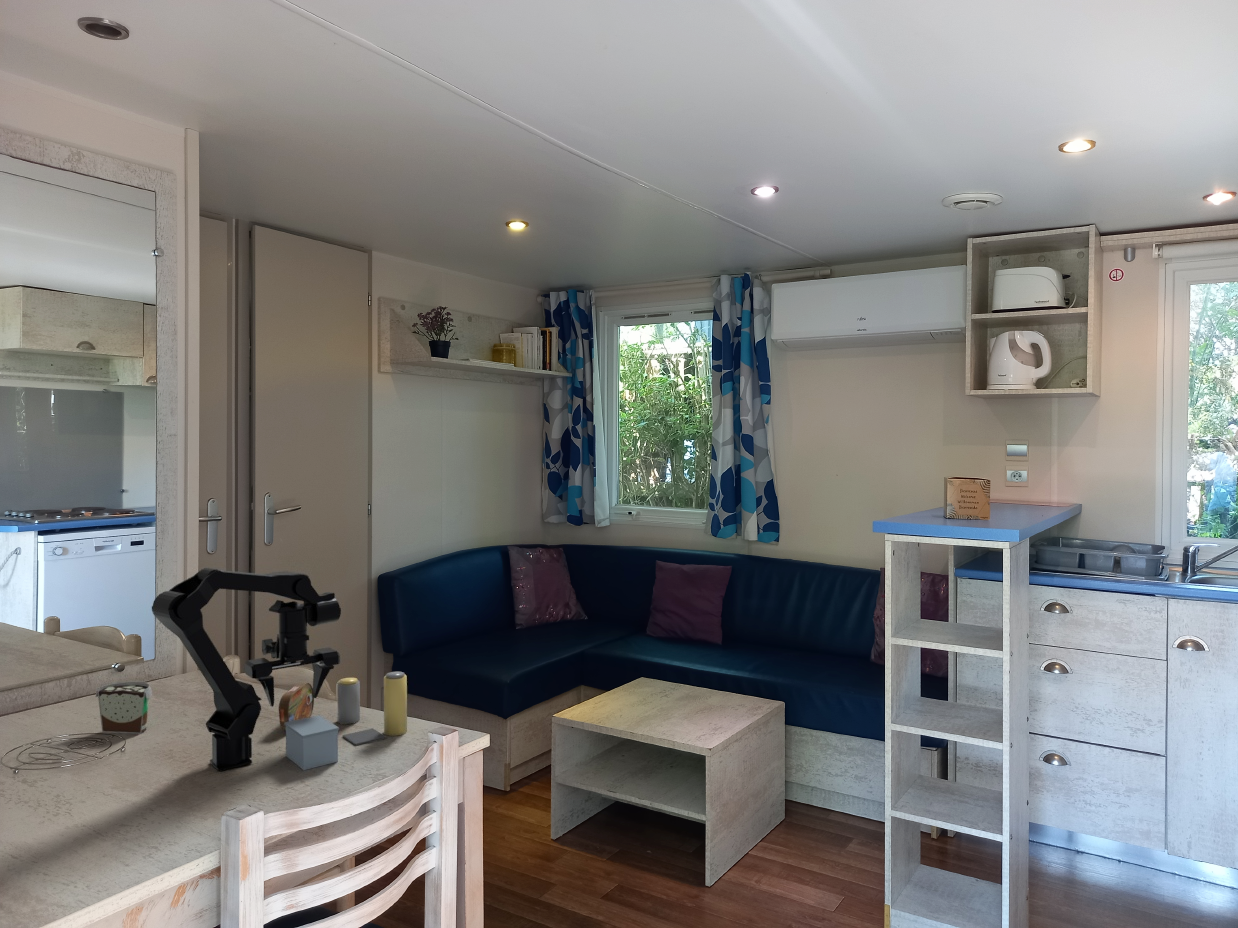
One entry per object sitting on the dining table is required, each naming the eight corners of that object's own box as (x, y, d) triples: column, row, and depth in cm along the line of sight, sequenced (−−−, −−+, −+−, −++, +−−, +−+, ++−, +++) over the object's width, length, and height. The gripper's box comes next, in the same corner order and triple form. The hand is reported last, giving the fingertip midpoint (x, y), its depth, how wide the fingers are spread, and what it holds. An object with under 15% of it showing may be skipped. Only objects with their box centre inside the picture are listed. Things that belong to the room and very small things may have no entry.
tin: (290, 734, 190) (289, 697, 190) (276, 734, 190) (275, 697, 190) (315, 713, 205) (315, 678, 205) (302, 713, 205) (302, 678, 205)
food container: (164, 724, 197) (164, 681, 197) (147, 733, 191) (146, 689, 190) (114, 722, 198) (114, 680, 198) (95, 731, 192) (95, 687, 192)
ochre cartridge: (390, 736, 189) (389, 678, 188) (380, 731, 193) (379, 673, 192) (410, 731, 192) (410, 674, 192) (400, 726, 196) (400, 669, 195)
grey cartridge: (342, 725, 196) (342, 684, 196) (334, 720, 200) (333, 679, 200) (363, 721, 199) (363, 680, 199) (354, 715, 203) (354, 675, 203)
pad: (355, 745, 183) (355, 743, 183) (342, 736, 189) (342, 735, 189) (386, 738, 188) (386, 736, 188) (372, 729, 193) (372, 728, 193)
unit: (303, 770, 170) (302, 735, 169) (284, 755, 178) (284, 722, 177) (339, 761, 174) (339, 727, 174) (319, 747, 182) (319, 714, 182)
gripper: (321, 618, 197) (322, 685, 197) (236, 629, 184) (236, 701, 185) (340, 626, 188) (341, 696, 188) (252, 639, 176) (253, 714, 176)
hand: (293, 701), depth 185 cm, fingers open, 9 cm apart
